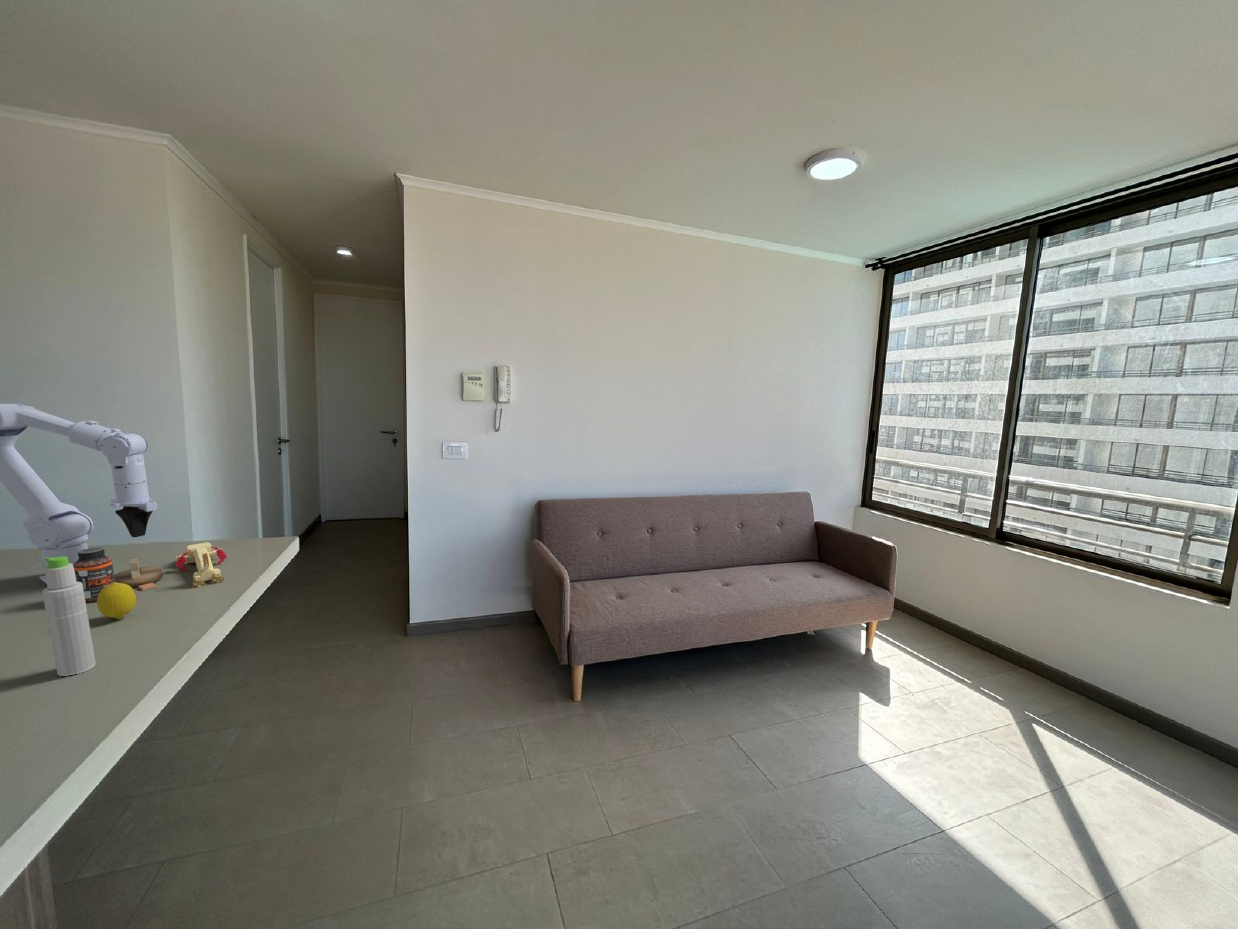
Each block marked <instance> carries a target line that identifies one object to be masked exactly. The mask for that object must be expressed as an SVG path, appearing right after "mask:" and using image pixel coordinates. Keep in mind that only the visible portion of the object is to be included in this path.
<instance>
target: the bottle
mask: <svg viewBox="0 0 1238 929" xmlns="http://www.w3.org/2000/svg"><path fill="white" fill-rule="evenodd" d="M45 561H48V566H49V567H47V568H46V569H44V574H46V575H45V576H46V582H47V584H46V588H44V589H42V591H41V593H42V598H43V604H44V609H45V613H46V619H47V625H48V630H49V636H50V637H49V638H50V640H51V641H50V642H51V646H52V650H53V657H54V663H55V668H56V673H57V676H58V675H72V674H77V675H80V674H83V673H85V672H87V671H89V670H91V669H93V668H94V667H96V664H97V663H96V657H95V650H94V644H93V640H92V633H91V627H90V620H89V616H88V610H87V604H86V603H87V602H85V597H84V591H83V585H82V583H81V582H76V576H75V571H74V568H73V564H71V563H69V562H68V558H67V557H66V556H60V557H54V558H46V559H45ZM82 672H83V673H82ZM79 673H80V674H79Z"/></svg>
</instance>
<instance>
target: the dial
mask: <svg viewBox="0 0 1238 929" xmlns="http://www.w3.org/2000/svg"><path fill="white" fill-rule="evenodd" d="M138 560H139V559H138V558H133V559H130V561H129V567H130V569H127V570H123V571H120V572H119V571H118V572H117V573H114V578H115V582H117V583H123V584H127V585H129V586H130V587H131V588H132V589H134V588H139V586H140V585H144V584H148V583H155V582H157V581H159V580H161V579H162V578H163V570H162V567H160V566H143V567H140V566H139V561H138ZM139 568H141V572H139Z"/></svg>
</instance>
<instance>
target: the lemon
mask: <svg viewBox="0 0 1238 929" xmlns="http://www.w3.org/2000/svg"><path fill="white" fill-rule="evenodd" d="M136 603H137V596H136V593H135V591H134V588H131V587H130V586H129V585H127V584H123V583H117V582H113V583H111V584H110V585H108V586H106V587H105V588H104V589H102V590H101V591H100V593H99V595H98V598H97V601H96V606H97V610H98V611H99V612H100V614H101V615H102V616H104V617H107V618H113V619H116V620H121V619H122V618H124V616H126V615H128V614H129V613H130V612H131V611H132V610H133V609H134V608H135V606H136Z"/></svg>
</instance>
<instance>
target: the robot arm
mask: <svg viewBox="0 0 1238 929" xmlns="http://www.w3.org/2000/svg"><path fill="white" fill-rule="evenodd" d="M29 428H33V429H38V430H42V431H45V432H50V433H53V434H58V435H62V436H66V437H67V438H68V441H69V442H71V443H72V444H75V445H79V446H82V447H85V448H88V449H92V450H95V451H99V452H101V453H102V454H103V455H104V456H105V457H106V458H107V460H108V464H109V465H110V467H111V474H112V480H113V482H112V483H113V487H114V488H113V489H114V494H115V496H114V497H110V503H109V506H110V507H112V508H113V507H123V508H121V509H117V510H115V511H114V512H115V514H116V515H117V516H118V517H119V518H120V520H122V522H123V523H124V525H125V526H126V529H127V531H128V532H129V534H130V536H131V538H138V537H144V536H146V533H147V532H146V531H147V528H148V522H149V519H150V518H151V515H152V514H153V512H154V511H157V510H158V503H157V502H156V501H153V500H152V498H151V497H150V494H149V487H148V485H149V484H148V479H147V472H146V464H145V458H144V455H145V454H146V452H147V451H148V449H149V442H148V440H147V439H146V437H145V436H144V435H142V434H140V433H138V432H135V431H129V432H125V433H124V432H122V431H121V429H119V428H110V427H106V426H103V425H100V424H99V422H98V421H94V420H86V421H85V420H84V421H83V420H82V421H79V422H73V421H70V420H68V419H65V418H62V417H59V416H56V415H53V414H50V413H48V412H44V411H42V410H39V409H36V408H35V407H34V406H31V405H24V404H22V403H19V402H8V403H0V483H1V484H2V485H3V487H4V488H5V489H6V490H7V491H8V492H9V494H11V496H12V497H13V498H14V499H15V500H16V502H17V503H18V504H19V505H20V506H21V507H22V508H23V509H24V511H25V512H26V513H27V514H28V515H27V516H26V518H25V520H24V522H23V523H22V526H23V527H24V528H25V530H26V532H27V535H28V538H29V541H30V542H31V543H32V544H33V545H35V546H37V547H38V549H39V550H41V551H42V552H41V557H42V562H43V563H42V564H43V569H44V570H45V569H46V568H47V567H49V566H48V561H45V559H46V558H54V557H60V556H66V557H67V558H68V562H69V563H71V564H74V563H75V562H76V561H77V560H78V559H79V557H78V552H79V551H81V550H84V549H88V548H89V547H88V546H89V545H88V543H87V540H89V535H90V534H91V533H92V532H93V530H94V523H93V520H92V519H91V517H90V516H88V515H87V514H85V513H83V512H82V511H80V510H79V509H78V508H77V507H76V506H74V505H71V504H67V503H63V502H61V501H60V500H59V498H57V496H56V495H55V494H54V492H52V491H51V489H50V488H49V487H48V486H47V484H45V483H44V481H43V480H42V479H41V477H39V475H38V474H37V473H36V471H35V470H34V469H33V468H32V467H31V465H29V463H28V462H27V461H26V460H25V459H24V458H23V456H22V455H21V454H20V453H19V452H18V450H16V448H15V444H16V441H17V442H18V440H19V439H20V438H21V437H22V436H23V435H24V433H25V432H26V431H27V430H28V429H29ZM44 574H45V573H44ZM39 580H40V581H42V582H43V583H45V584H46V585H47V582H46V574H45V575H41V576H39Z"/></svg>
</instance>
